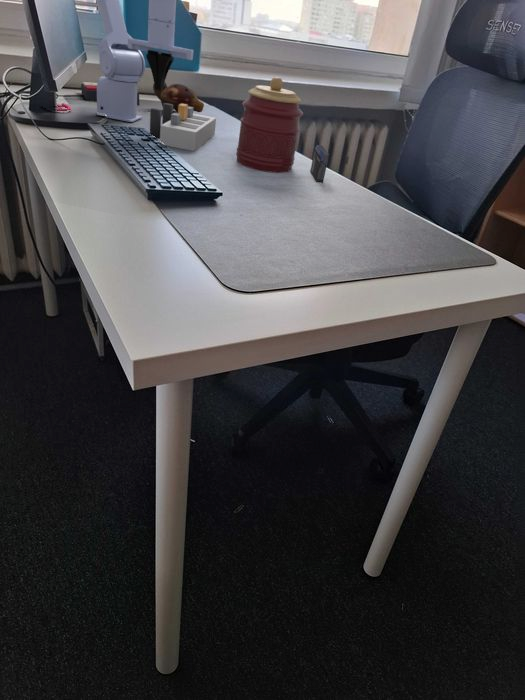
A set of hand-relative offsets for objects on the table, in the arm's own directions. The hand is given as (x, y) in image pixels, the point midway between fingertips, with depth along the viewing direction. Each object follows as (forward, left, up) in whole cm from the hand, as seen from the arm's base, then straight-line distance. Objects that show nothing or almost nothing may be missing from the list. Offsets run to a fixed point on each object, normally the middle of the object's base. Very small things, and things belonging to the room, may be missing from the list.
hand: (158, 89), depth 119 cm
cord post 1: (+1, -5, -10) cm, 11 cm away
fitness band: (-27, +4, -10) cm, 29 cm away
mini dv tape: (+40, -13, -10) cm, 43 cm away
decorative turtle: (-3, +30, -10) cm, 32 cm away
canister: (+28, -11, -10) cm, 32 cm away
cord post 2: (+1, +5, -10) cm, 11 cm away
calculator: (-24, +32, -10) cm, 41 cm away
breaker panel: (+8, 0, -10) cm, 12 cm away
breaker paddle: (+6, 0, -5) cm, 8 cm away
